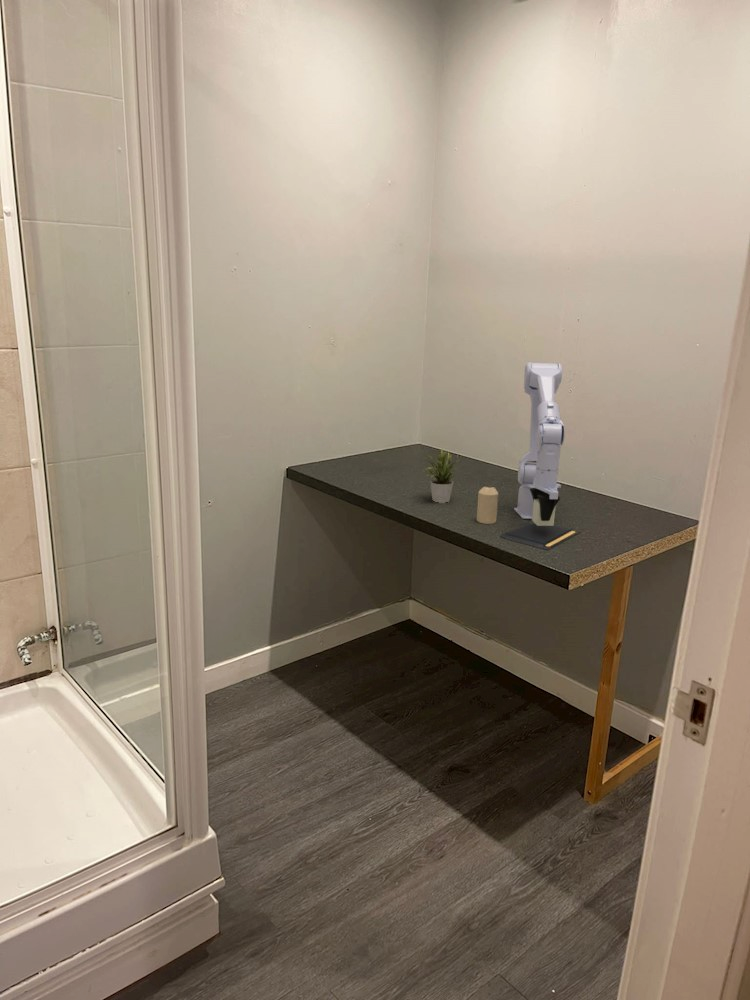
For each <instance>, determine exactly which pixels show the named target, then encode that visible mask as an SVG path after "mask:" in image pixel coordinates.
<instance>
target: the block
mask: <svg viewBox="0 0 750 1000" xmlns="http://www.w3.org/2000/svg"><path fill="white" fill-rule="evenodd" d="M556 508H557V505H556V506H555V507H554V510H553V512H552V515H551V518H550V520H549V521H542V520H541V513H540V503H539V499H534V505H533V515H532V519H531V521H533V522H534V523H535V524H536V525H537V526H554V524H555V514H556Z"/></svg>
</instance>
